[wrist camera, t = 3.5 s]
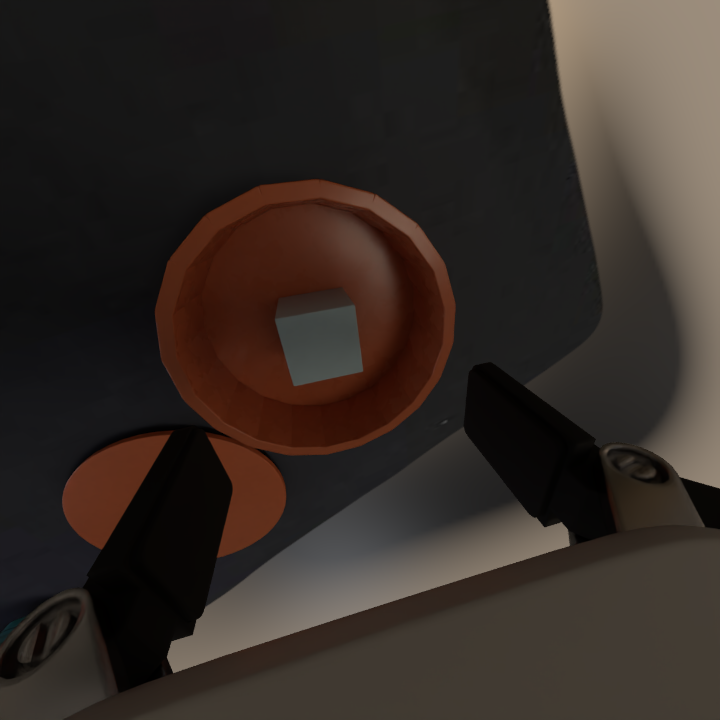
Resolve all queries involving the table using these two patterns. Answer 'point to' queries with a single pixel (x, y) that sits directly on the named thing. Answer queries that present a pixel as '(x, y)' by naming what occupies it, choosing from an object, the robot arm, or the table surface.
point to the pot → (293, 277)
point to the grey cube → (319, 335)
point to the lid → (132, 463)
